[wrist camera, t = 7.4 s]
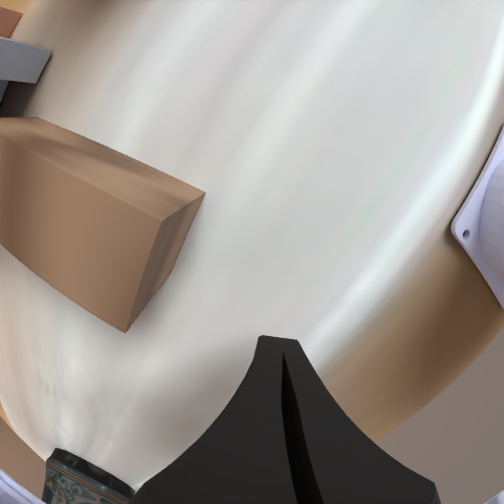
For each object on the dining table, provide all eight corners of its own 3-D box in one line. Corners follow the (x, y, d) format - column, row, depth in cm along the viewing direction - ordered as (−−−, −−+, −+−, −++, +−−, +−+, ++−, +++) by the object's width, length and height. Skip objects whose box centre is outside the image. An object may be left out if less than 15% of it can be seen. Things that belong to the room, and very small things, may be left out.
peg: (206, 191, 11) (161, 221, 6) (172, 269, 12) (125, 333, 8) (39, 117, 10) (-29, 119, 5) (23, 182, 11) (-40, 202, 6)
